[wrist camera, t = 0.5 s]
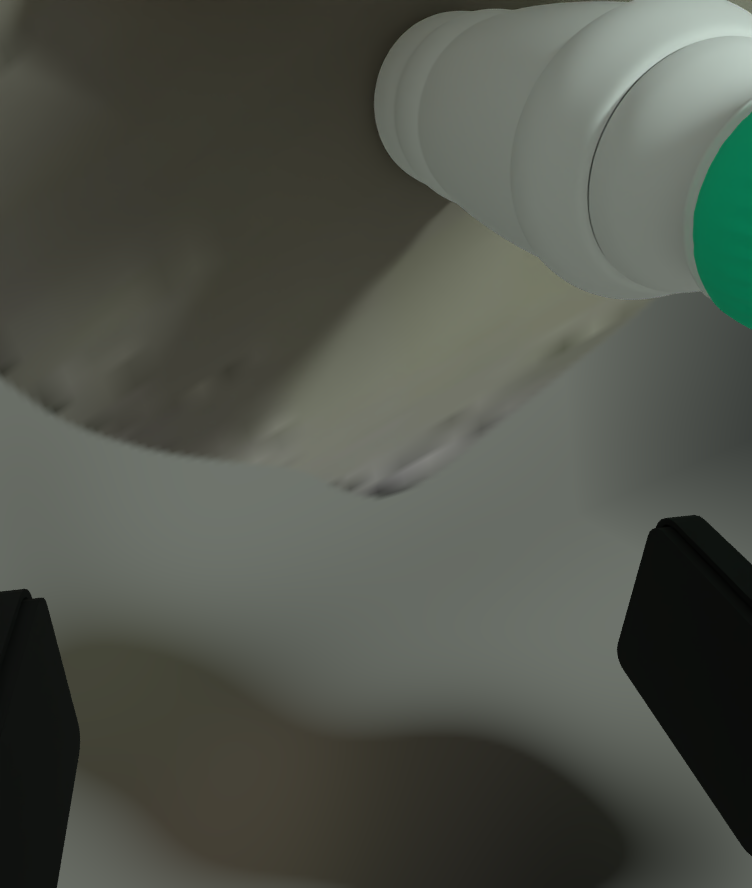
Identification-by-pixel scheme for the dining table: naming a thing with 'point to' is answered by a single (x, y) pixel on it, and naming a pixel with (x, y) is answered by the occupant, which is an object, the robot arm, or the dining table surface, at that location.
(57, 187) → the dining table surface
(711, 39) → the water bottle
